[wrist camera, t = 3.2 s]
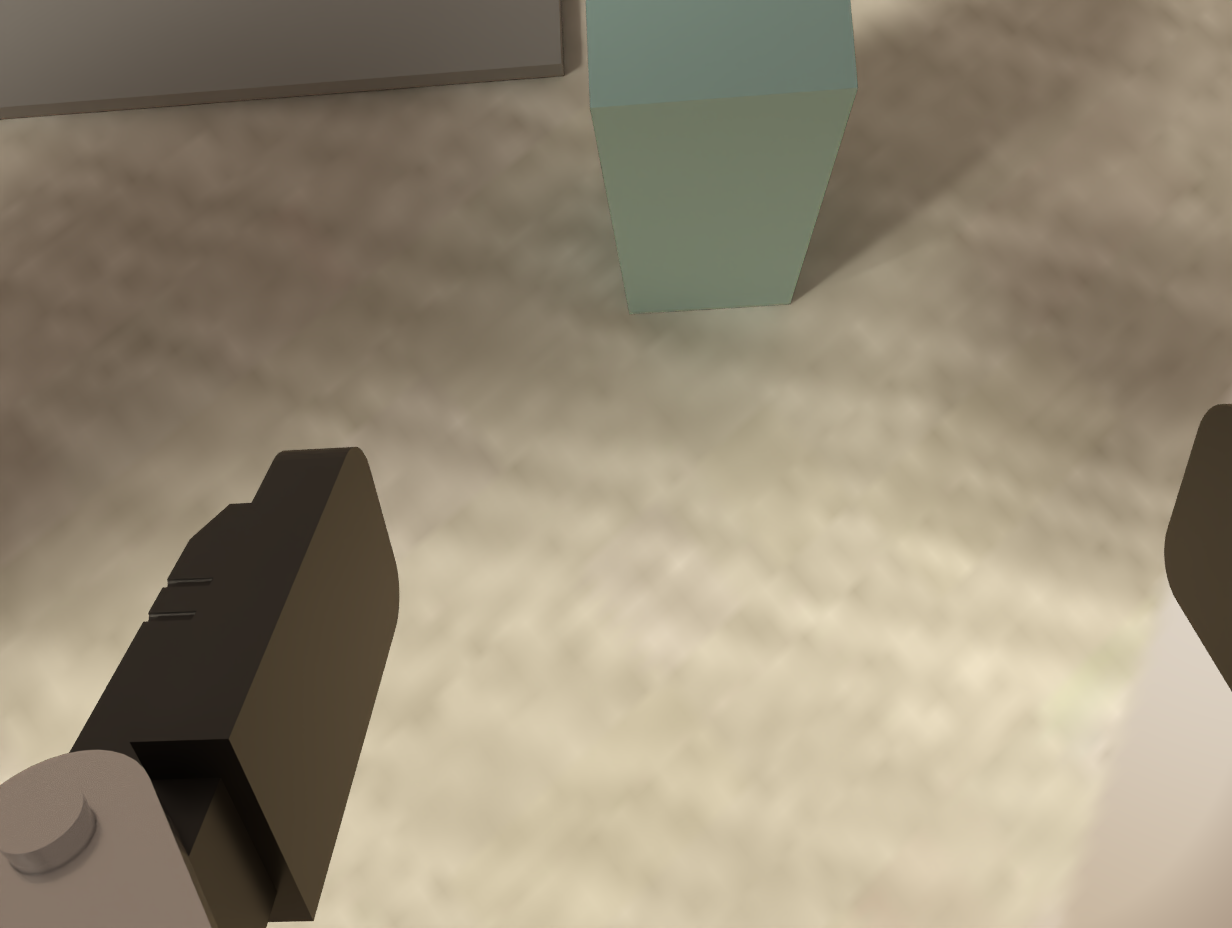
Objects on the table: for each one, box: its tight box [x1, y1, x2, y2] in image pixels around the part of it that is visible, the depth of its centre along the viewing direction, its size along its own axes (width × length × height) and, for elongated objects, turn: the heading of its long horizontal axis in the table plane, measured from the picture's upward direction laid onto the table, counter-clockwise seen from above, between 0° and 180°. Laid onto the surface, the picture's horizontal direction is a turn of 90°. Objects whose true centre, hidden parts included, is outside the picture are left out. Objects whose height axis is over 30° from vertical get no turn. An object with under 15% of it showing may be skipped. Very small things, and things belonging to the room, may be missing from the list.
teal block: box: [586, 0, 858, 314], centre depth 18 cm, size 4×4×9 cm
